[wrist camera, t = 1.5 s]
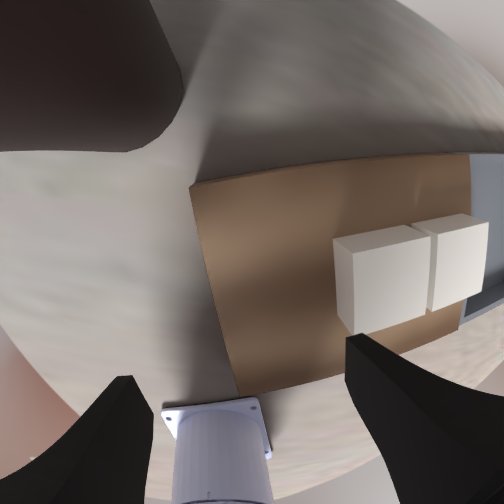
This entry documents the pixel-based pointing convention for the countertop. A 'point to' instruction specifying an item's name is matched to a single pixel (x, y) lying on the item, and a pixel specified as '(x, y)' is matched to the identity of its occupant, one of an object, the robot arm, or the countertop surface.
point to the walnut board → (312, 257)
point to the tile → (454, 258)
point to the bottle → (84, 75)
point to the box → (499, 231)
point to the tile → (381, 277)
